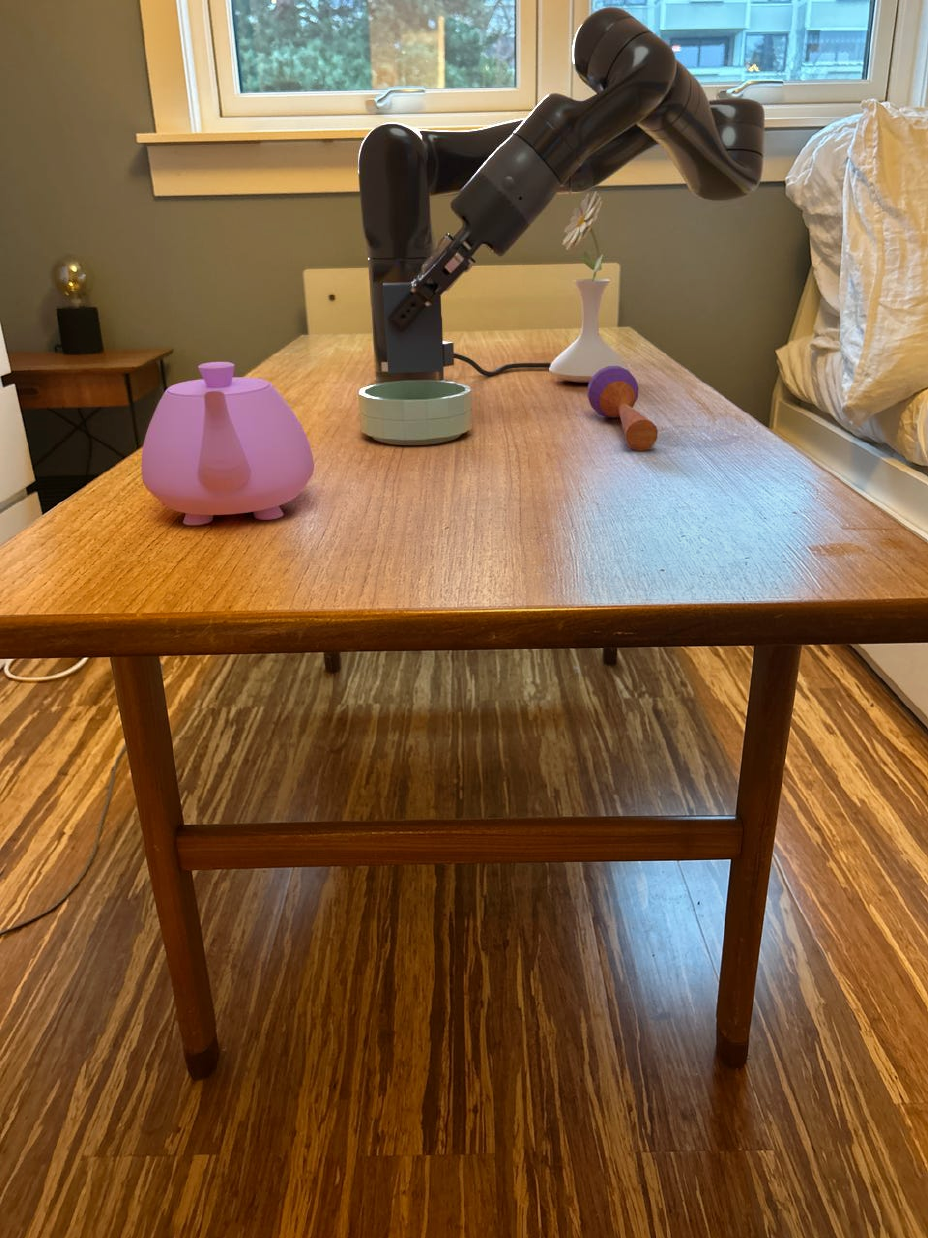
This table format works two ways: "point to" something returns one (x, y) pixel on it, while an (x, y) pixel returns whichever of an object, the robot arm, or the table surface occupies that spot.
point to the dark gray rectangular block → (413, 334)
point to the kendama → (621, 405)
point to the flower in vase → (586, 307)
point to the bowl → (415, 411)
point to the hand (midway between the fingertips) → (394, 323)
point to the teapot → (225, 448)
